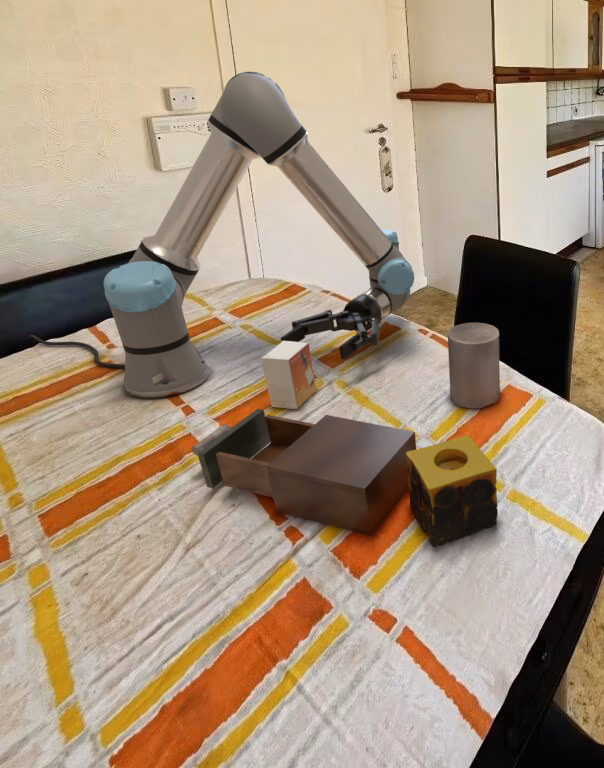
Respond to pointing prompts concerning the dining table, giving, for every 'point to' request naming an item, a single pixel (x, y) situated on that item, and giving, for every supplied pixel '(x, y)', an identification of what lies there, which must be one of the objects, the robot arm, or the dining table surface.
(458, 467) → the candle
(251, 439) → the drawer
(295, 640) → the dining table surface
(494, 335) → the grey upright cylinder
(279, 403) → the small box
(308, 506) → the cabinet
